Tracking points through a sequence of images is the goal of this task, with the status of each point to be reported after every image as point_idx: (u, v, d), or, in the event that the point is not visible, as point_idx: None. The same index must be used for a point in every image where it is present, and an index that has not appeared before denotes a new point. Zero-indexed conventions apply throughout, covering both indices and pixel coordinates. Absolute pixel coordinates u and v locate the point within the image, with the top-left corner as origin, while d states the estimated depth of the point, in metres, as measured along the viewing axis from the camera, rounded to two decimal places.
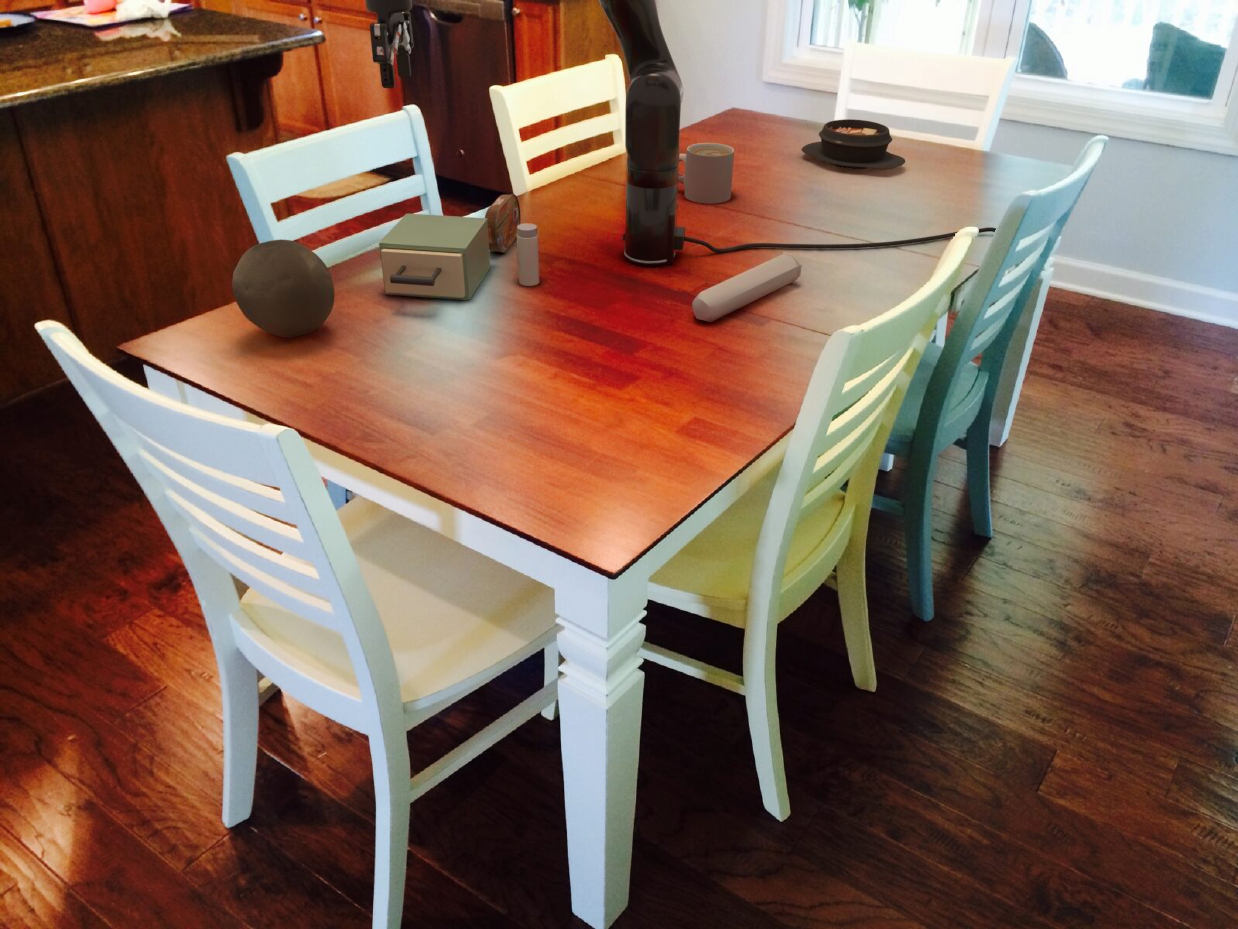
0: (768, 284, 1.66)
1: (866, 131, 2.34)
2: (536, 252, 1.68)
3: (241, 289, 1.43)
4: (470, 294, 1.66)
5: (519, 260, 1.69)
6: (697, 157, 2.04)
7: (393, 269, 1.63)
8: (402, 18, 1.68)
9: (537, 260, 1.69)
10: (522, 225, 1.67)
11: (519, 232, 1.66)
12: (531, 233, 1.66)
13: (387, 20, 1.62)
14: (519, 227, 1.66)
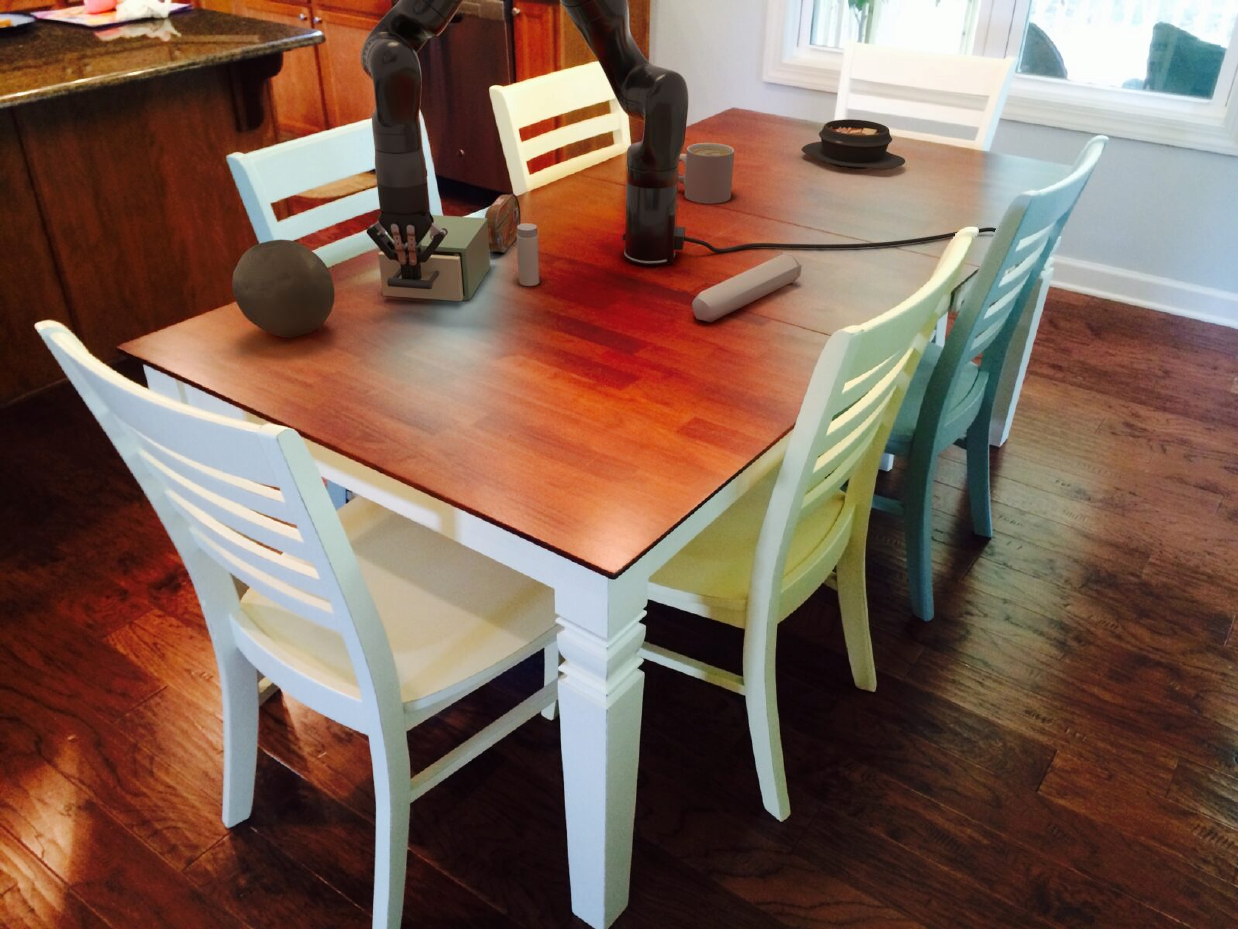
0: (768, 284, 1.66)
1: (866, 131, 2.34)
2: (536, 252, 1.68)
3: (241, 289, 1.43)
4: (470, 294, 1.66)
5: (519, 260, 1.69)
6: (697, 157, 2.04)
7: (391, 272, 1.62)
8: (421, 222, 1.52)
9: (537, 260, 1.69)
10: (522, 225, 1.67)
11: (519, 232, 1.66)
12: (531, 233, 1.66)
13: (378, 218, 1.53)
14: (519, 227, 1.66)
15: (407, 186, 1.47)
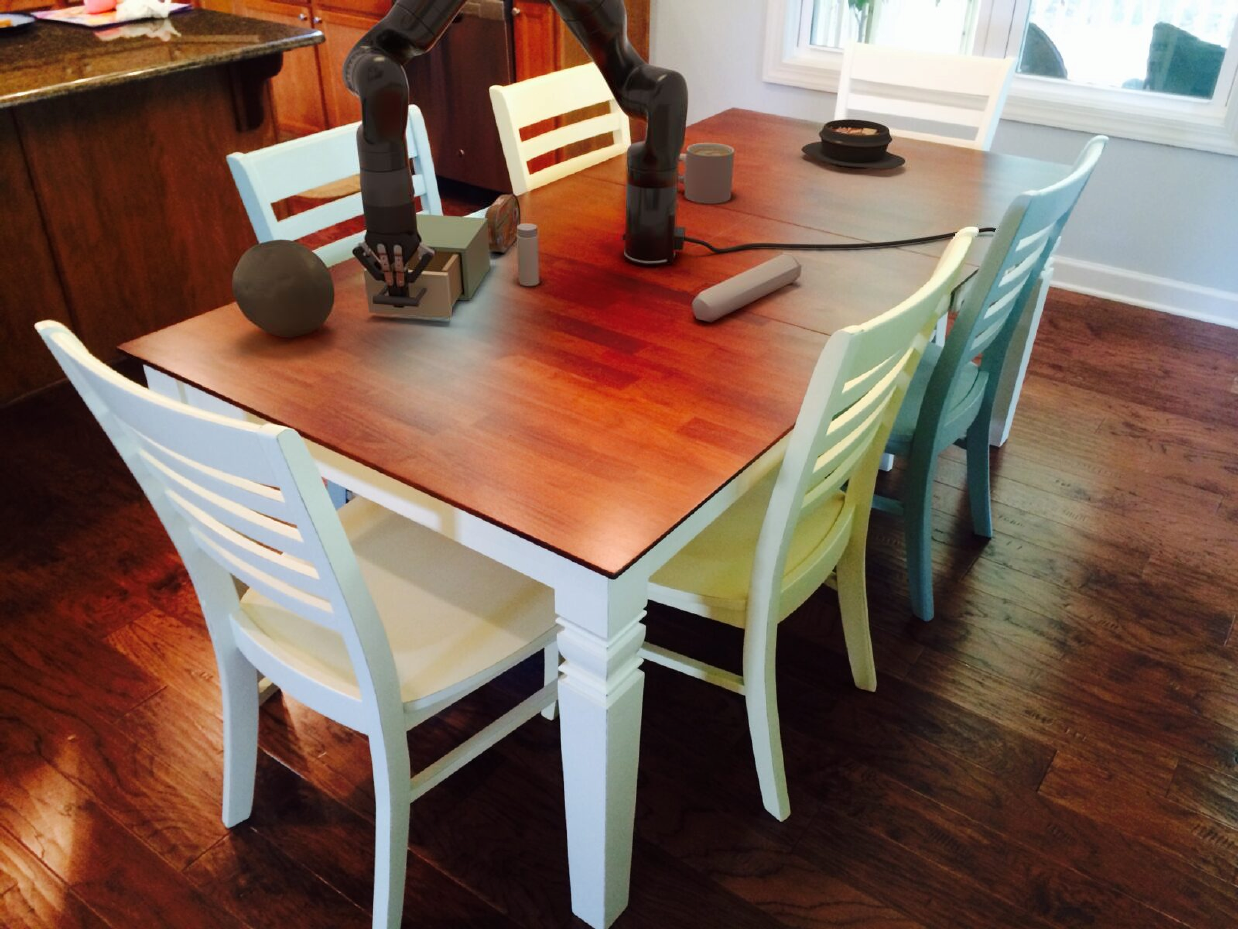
0: (768, 284, 1.66)
1: (866, 131, 2.34)
2: (536, 252, 1.68)
3: (241, 289, 1.43)
4: (470, 294, 1.66)
5: (519, 260, 1.69)
6: (697, 157, 2.04)
7: (377, 289, 1.56)
8: (409, 242, 1.46)
9: (537, 260, 1.69)
10: (522, 225, 1.67)
11: (519, 232, 1.66)
12: (531, 233, 1.66)
13: (364, 238, 1.47)
14: (519, 227, 1.66)
15: (393, 205, 1.41)
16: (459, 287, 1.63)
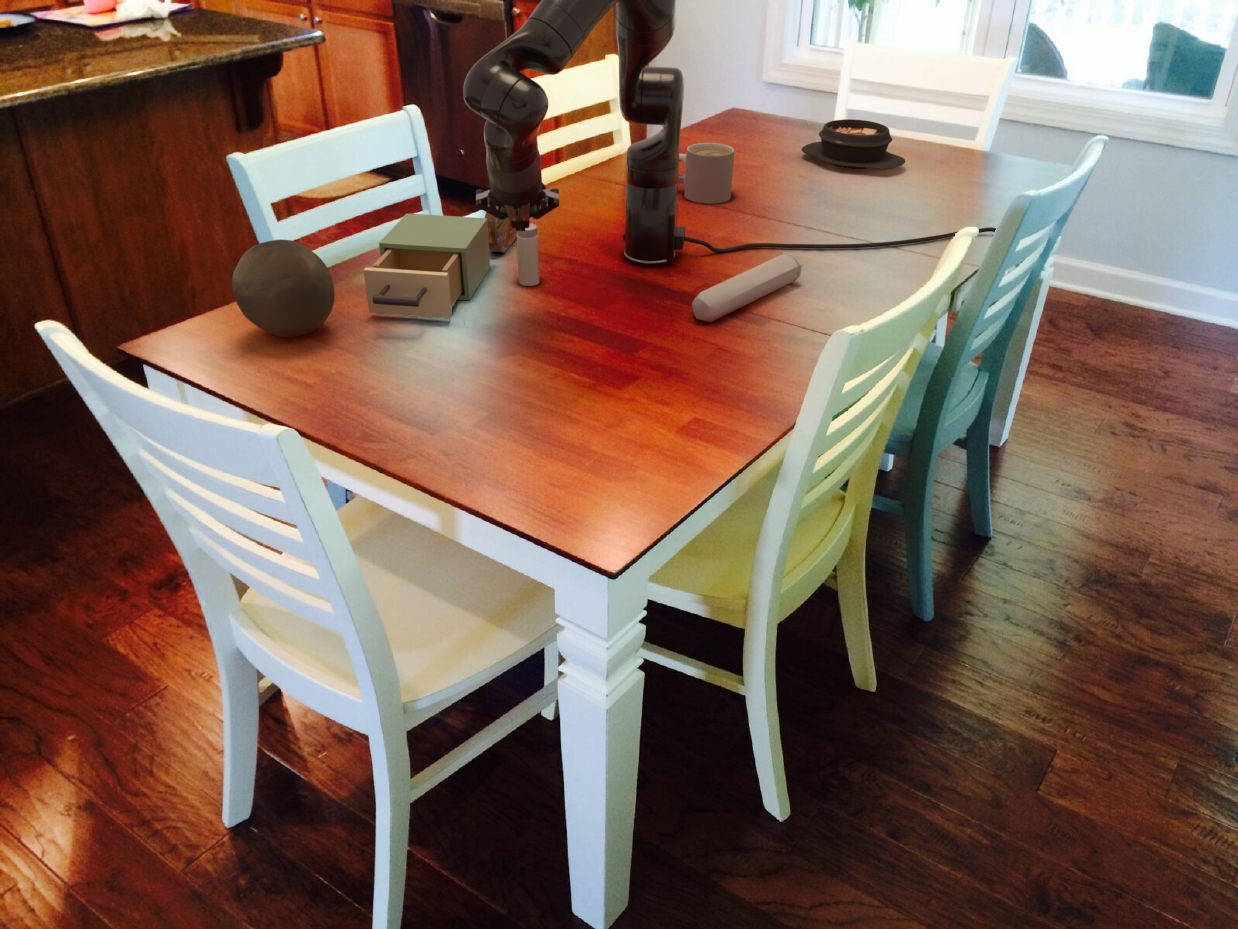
0: (768, 284, 1.66)
1: (866, 131, 2.34)
2: (536, 252, 1.68)
3: (241, 289, 1.43)
4: (470, 294, 1.66)
5: (519, 260, 1.69)
6: (697, 157, 2.04)
7: (377, 289, 1.56)
8: None
9: (537, 260, 1.69)
10: None
11: (519, 232, 1.66)
12: (531, 233, 1.66)
13: (488, 196, 1.44)
14: None
15: (528, 189, 1.38)
16: (459, 287, 1.63)
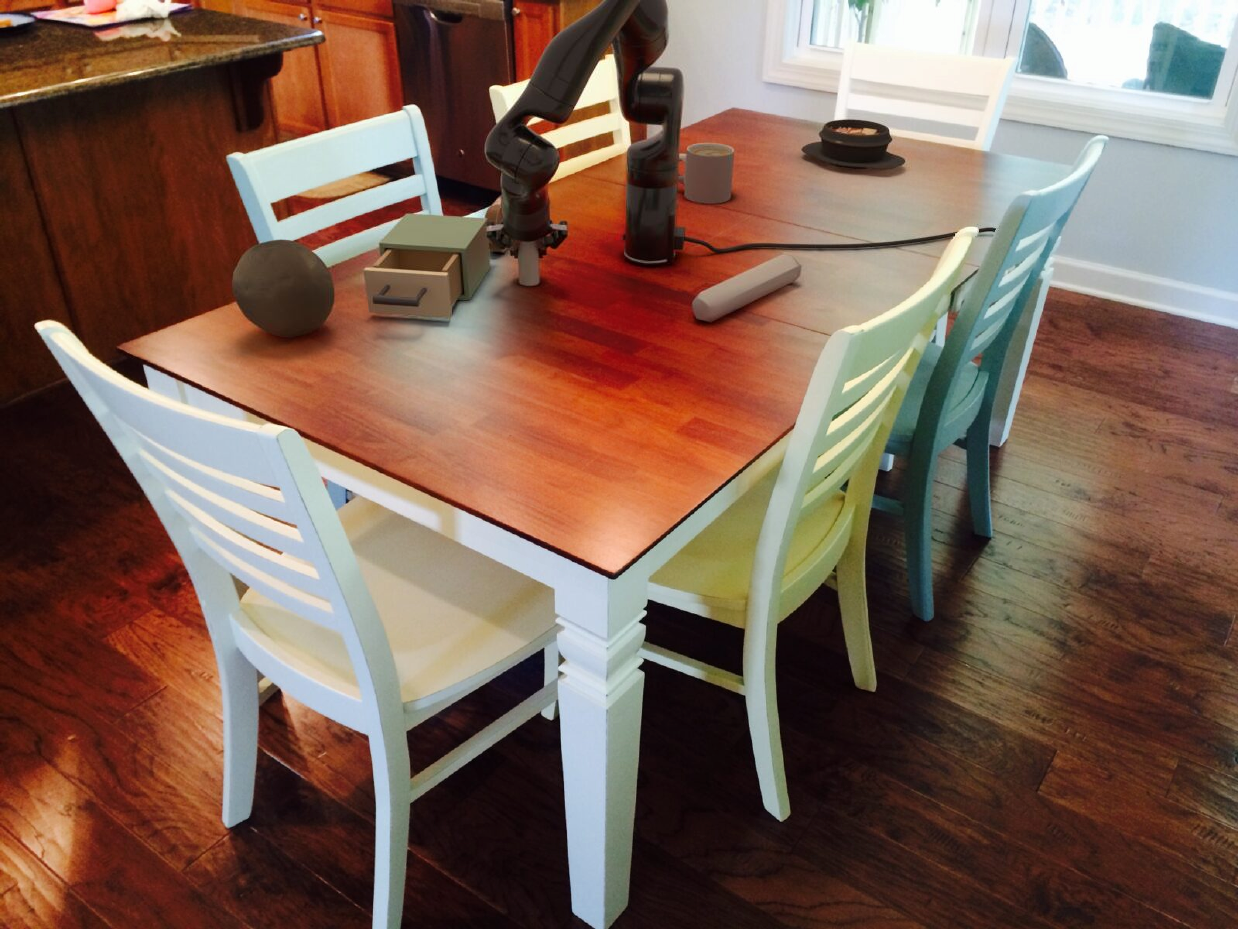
0: (768, 284, 1.66)
1: (866, 131, 2.34)
2: (536, 252, 1.68)
3: (241, 289, 1.43)
4: (470, 294, 1.66)
5: (519, 260, 1.69)
6: (697, 157, 2.04)
7: (377, 289, 1.56)
8: None
9: (537, 260, 1.69)
10: None
11: None
12: None
13: (501, 230, 1.60)
14: None
15: (538, 227, 1.54)
16: (459, 287, 1.63)
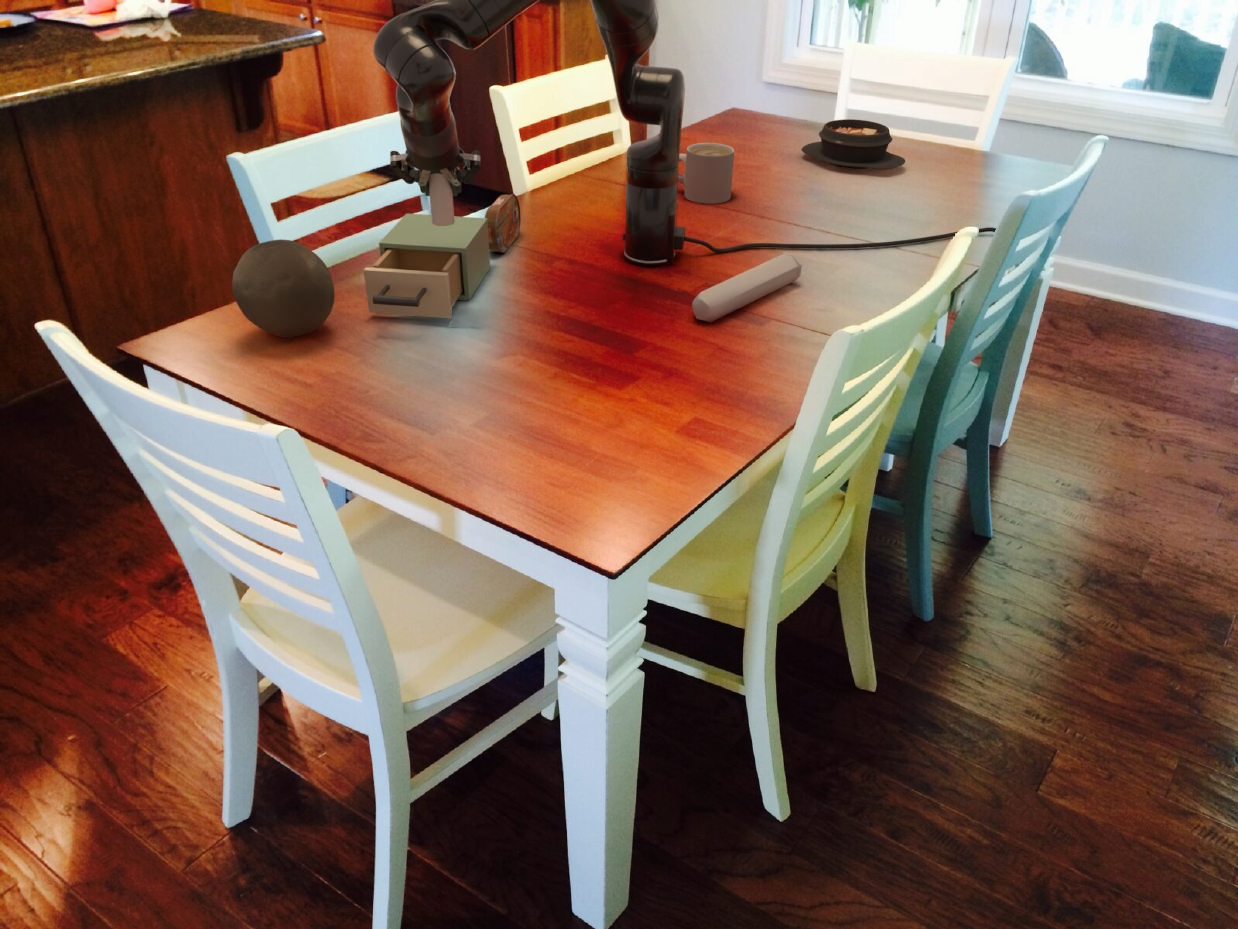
0: (768, 284, 1.66)
1: (866, 131, 2.34)
2: (449, 188, 1.53)
3: (241, 289, 1.43)
4: (470, 294, 1.66)
5: (431, 197, 1.54)
6: (697, 157, 2.04)
7: (377, 289, 1.56)
8: (454, 162, 1.46)
9: (451, 197, 1.54)
10: None
11: None
12: None
13: (406, 159, 1.45)
14: None
15: (443, 153, 1.39)
16: (459, 287, 1.63)
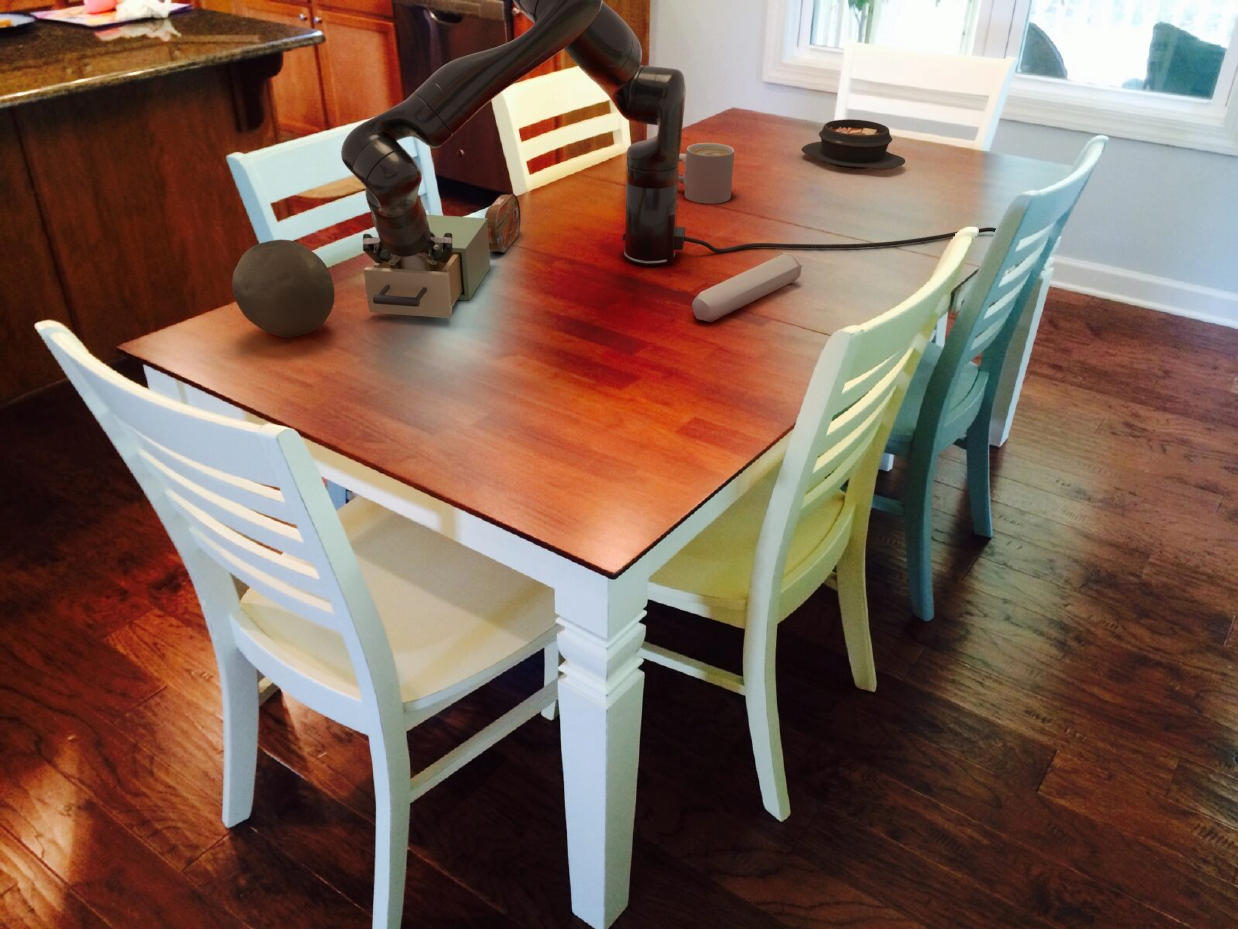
0: (768, 284, 1.66)
1: (866, 131, 2.34)
2: (422, 265, 1.57)
3: (241, 289, 1.43)
4: (470, 294, 1.66)
5: None
6: (697, 157, 2.04)
7: (377, 289, 1.56)
8: (425, 246, 1.50)
9: None
10: None
11: None
12: None
13: (379, 243, 1.49)
14: None
15: (414, 242, 1.44)
16: (459, 287, 1.63)
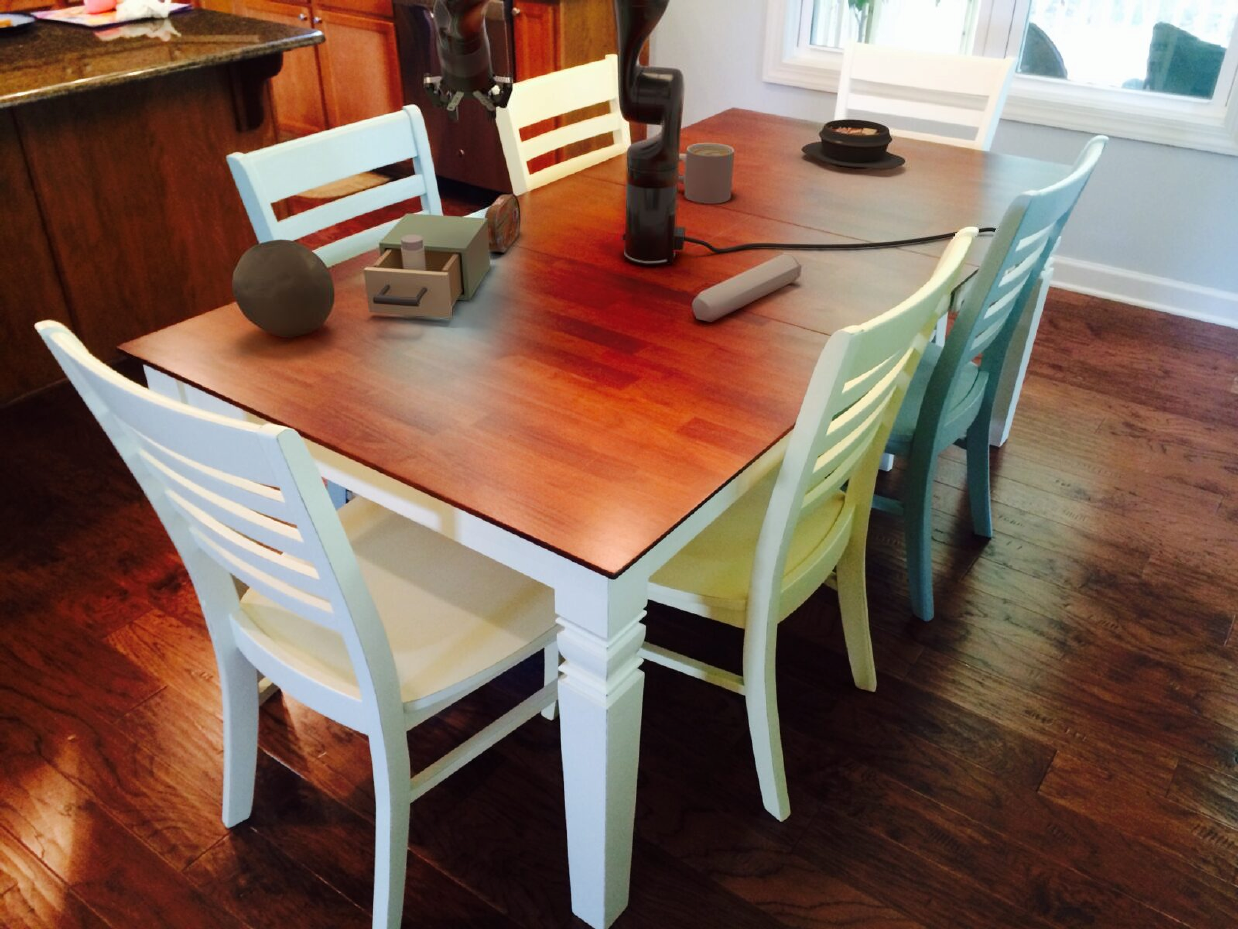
0: (768, 284, 1.66)
1: (866, 131, 2.34)
2: (422, 265, 1.57)
3: (241, 289, 1.43)
4: (470, 294, 1.66)
5: None
6: (697, 157, 2.04)
7: (377, 289, 1.56)
8: (486, 85, 1.50)
9: None
10: (407, 237, 1.56)
11: (403, 244, 1.55)
12: (415, 245, 1.55)
13: (441, 81, 1.50)
14: (403, 239, 1.55)
15: (477, 73, 1.44)
16: (459, 287, 1.63)
